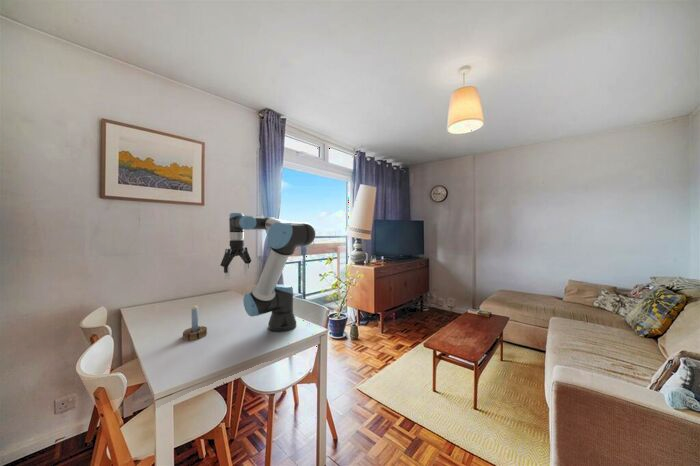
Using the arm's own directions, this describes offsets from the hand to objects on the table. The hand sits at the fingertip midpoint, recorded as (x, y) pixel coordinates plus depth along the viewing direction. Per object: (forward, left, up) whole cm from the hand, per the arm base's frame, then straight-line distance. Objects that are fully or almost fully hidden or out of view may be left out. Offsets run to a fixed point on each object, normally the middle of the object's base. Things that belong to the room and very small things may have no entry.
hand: (236, 276), depth 143 cm
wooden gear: (+5, +22, -27) cm, 35 cm away
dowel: (+5, +22, -27) cm, 35 cm away
